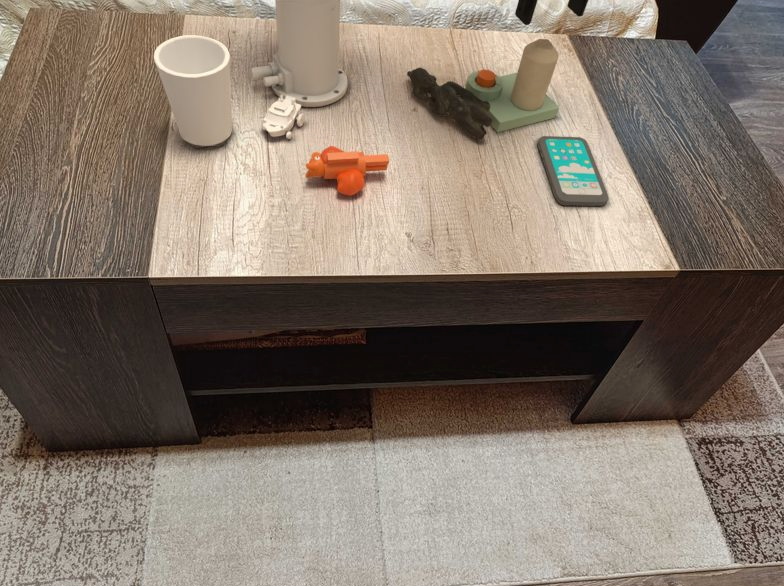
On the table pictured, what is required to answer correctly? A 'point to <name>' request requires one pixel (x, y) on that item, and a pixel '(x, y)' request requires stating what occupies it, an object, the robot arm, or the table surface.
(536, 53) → the candle
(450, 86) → the statue
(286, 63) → the robot arm
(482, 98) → the scale
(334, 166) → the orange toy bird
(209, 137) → the cup
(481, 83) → the button
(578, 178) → the smartphone
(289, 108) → the toy car
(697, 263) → the table surface
